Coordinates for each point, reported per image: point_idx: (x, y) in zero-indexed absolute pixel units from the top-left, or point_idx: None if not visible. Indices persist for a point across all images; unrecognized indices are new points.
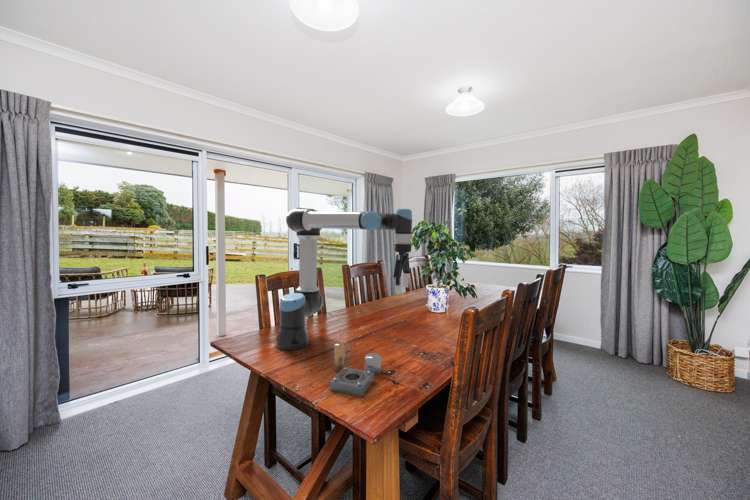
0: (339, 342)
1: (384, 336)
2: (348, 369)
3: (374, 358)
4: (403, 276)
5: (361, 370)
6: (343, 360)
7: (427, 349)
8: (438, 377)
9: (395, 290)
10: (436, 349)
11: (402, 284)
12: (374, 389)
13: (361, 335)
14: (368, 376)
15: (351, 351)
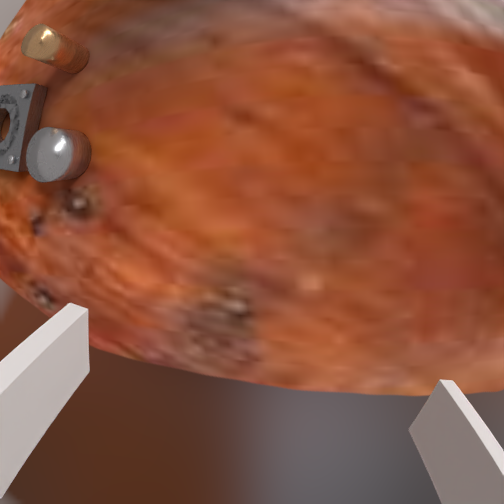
0: (46, 32)
1: (400, 163)
2: (25, 100)
3: (33, 163)
4: (493, 480)
5: (22, 135)
6: (56, 66)
7: (277, 327)
8: None
9: (58, 321)
10: (281, 354)
11: (452, 398)
12: (6, 180)
13: (394, 70)
14: (2, 163)
15: (213, 48)
